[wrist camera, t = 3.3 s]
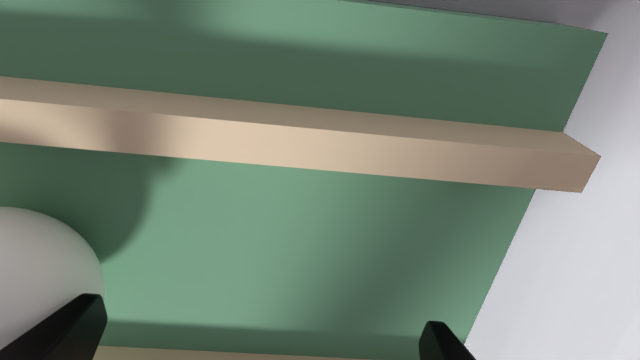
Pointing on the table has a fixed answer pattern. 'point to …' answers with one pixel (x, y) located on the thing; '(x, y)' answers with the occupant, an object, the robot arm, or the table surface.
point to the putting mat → (286, 163)
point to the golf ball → (41, 269)
